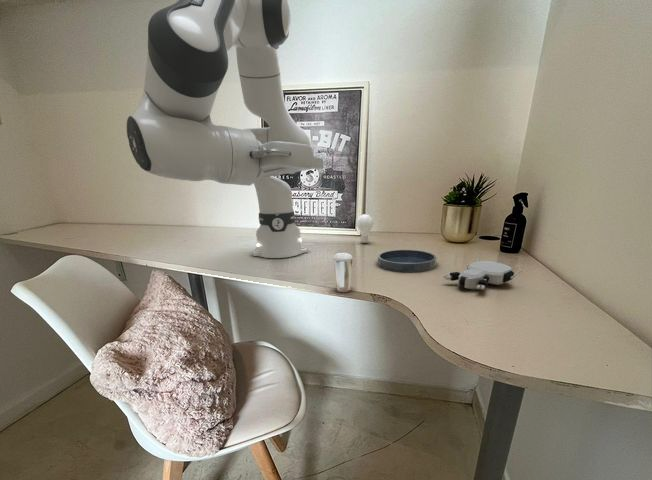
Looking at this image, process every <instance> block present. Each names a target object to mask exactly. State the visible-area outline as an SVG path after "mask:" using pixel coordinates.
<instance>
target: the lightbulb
mask: <svg viewBox="0 0 652 480" xmlns="http://www.w3.org/2000/svg"><path fill="white" fill-rule="evenodd" d="M356 226H357V229H358V230H359V232H360V236H361V244H368V243H369V235H370V233H371V230H372V228H373V227H374V219H373V217H372V216H371V215H369V214H367V213H363V214H360V215H359V216H358V217H357V220H356Z"/></svg>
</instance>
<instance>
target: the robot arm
mask: <svg viewBox="0 0 652 480" xmlns="http://www.w3.org/2000/svg"><path fill="white" fill-rule="evenodd" d="M291 19H292V17H291V10H290V6H289V3H288V0H177V1H176V2H174V3H173V4H170V5H168V6H166V7H163V8H161V9H158V11H156V12H155V13H154V14H152V16H151V17H150V19H149V21H148V25H147V58H146V66H145V77H144V86H143V91H142V96H141V99H140V102H139V103H138V106H137V108H136V110H135V111H134V112H133V113H132V114H130V115H129V116H128V117H127V119H126V137H127V140H128V143H129V144H128V145H129V149H130V151H131V154H132V156H133V158H134V160H135V162H136V164H137V165H139V167H140V168H141V169H142V170H143V171H145V172H147V173H149V174H152V175H154V176H158V177H161V178H165V179H166V178H167V179H171V180H179V181H189V182H202V181H213V182H216V183H218V184H224V185H235V186H236V185H237V186H248V187H249V186H252V185H253V186H254V188H255V192H256V197H257V204H258V211H259V212H258V222H259V224H260V225H259V226H258V229H256V231H255V237H256V247H257V248H256V249H255V250H254V251H253V252H252V256H254V257H261V258H265V259H284V258H285V259H286V258H291V257H295V256H299V255H301V254H304V253H308V248H306V247H304V246H303V245H302V237H301V236H302V235H301V228H300V227H299V226H297V224H296V215H295V211H294V210H293V209H294V208H293V207H294V206H293V194H292V187H291V186H290V185H289V184H288V182H286V181H284V180H282V179H280V178H278V177H276V176H282V175H286V174H288V175H293V174H296V173H298V172H304V171H309V170H322V169H323V168H324V159H323V158H322V157H316V156H315V151H314V147H313V145H312V140H311V137H310V136H309V134H308V132H306V131H305V130H304V129H303V128H302V127H301V126H299V125H298V124H297V123H296V122H295V121H294V119H293V118H292V115H290V113H289V111H288V108H287V105H286V101H285V97H284V96H285V95H284V91H283V83H282V75H281V74H282V73H281V64H280V57H279V53H278V49H279V48H280V46H282V45H284V44H285V42H286V41H287V39H288V38H289V34H290V28H291ZM232 48H235V54H236V62H237V69H238V76H239V83H240V88H241V93H242V99H243V103H244V106H245V108H246V109H247V110H248V111H249V112H250V113H251V114H252V115H254V116H256V117H258V118H260V119H262V120H263V121H264V122H265V123H266V124H267V125H268V127H245V128H236V127H231V126H225V125H219V124H214V123H213V122H212V119H211V113H212V110H213V108H214V104H215V101H216V99H217V96H218V92H219V90H220V87H221V85H222V83H223V81H224V78H225V76H226V75H227V74H226V73H227V72H228V70H229V55H228V51H230V50H231V49H232Z"/></svg>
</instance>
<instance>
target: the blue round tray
mask: <svg viewBox="0 0 652 480" xmlns="http://www.w3.org/2000/svg"><path fill="white" fill-rule="evenodd" d="M437 258H438V257H437V255H435V254H434V253H432V252H428V251H424V250H417V249H392V250H387V251H382V252H380V253H379V254H378V255H377V265H378V267H380V268H382V269H384V270H387V271H391V272H396V273H421V272H422V273H423V272H428V271H430V270H433V269H435V268H436V265H437Z"/></svg>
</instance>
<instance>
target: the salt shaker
mask: <svg viewBox="0 0 652 480" xmlns="http://www.w3.org/2000/svg"><path fill="white" fill-rule="evenodd" d="M355 253H356V249H355V250H354V253H353V254H355ZM353 257H354V256H353V255H351V254H350V253H347V252H336V253H335V254H334V256H333V257H332V260H333V261H332V262H333V268H334V274H335V275H334V276H335V284H336V291H337V292H339V293H348V292H350V291H351V286H352V285H351V282H352V270H353V268H352V267H353Z"/></svg>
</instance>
